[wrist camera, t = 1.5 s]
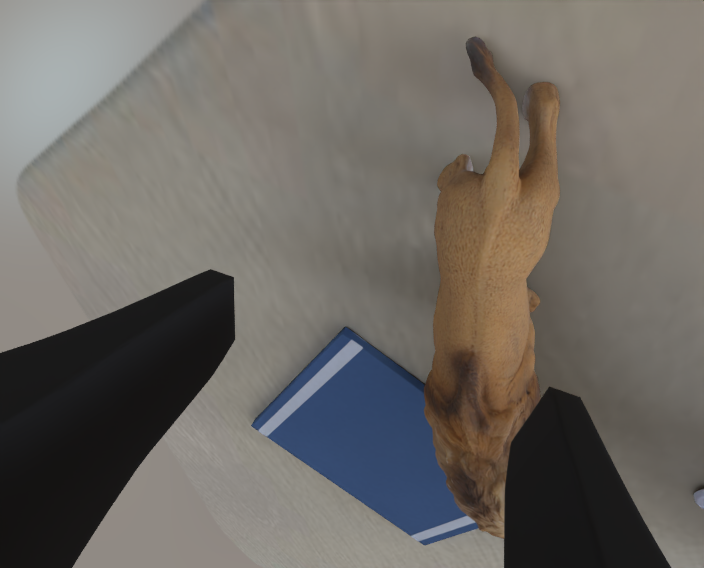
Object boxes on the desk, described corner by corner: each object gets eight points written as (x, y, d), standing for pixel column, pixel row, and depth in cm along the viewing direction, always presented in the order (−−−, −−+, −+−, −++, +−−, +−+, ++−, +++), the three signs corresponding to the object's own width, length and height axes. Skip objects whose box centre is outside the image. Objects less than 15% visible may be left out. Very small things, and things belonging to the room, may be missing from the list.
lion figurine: (574, 370, 20) (602, 582, 13) (458, 368, 22) (428, 548, 15) (559, 9, 13) (602, 42, 6) (391, 60, 15) (274, 128, 8)
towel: (567, 489, 24) (568, 499, 24) (425, 537, 33) (424, 546, 32) (345, 326, 23) (341, 333, 22) (254, 419, 31) (250, 426, 30)
